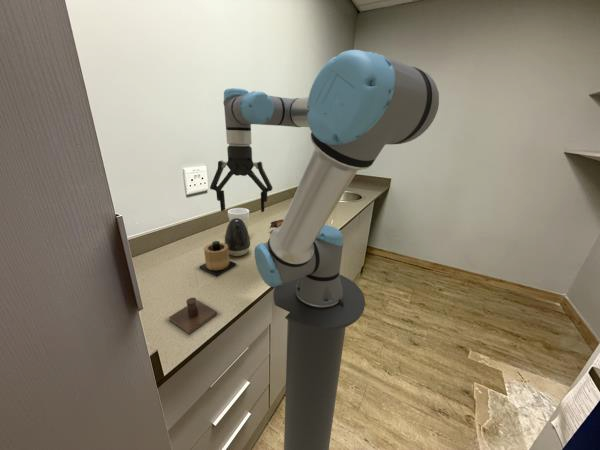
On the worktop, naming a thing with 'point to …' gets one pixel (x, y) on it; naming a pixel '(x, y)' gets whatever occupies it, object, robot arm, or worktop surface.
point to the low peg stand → (192, 315)
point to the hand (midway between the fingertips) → (243, 210)
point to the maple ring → (216, 257)
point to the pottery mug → (276, 224)
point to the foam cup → (239, 215)
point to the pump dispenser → (237, 237)
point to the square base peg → (217, 272)
